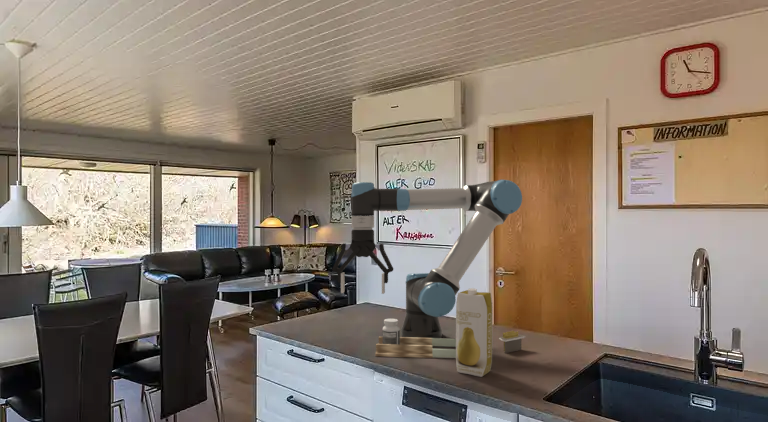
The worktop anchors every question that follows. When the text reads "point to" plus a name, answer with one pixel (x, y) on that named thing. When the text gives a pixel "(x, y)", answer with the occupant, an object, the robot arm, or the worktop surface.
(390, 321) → the pill bottle
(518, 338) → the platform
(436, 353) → the tray
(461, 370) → the juice carton
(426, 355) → the slot rails
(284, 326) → the worktop surface
